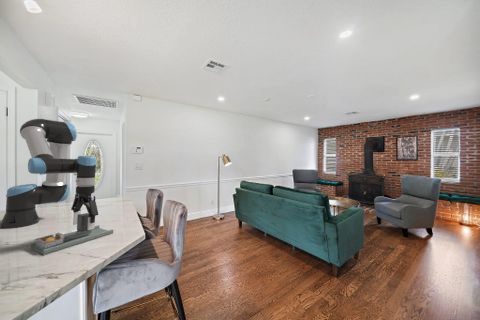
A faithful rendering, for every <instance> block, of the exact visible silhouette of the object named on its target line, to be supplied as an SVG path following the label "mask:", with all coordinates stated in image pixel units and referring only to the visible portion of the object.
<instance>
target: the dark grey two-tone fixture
mask: <svg viewBox="0 0 480 320" xmlns="http://www.w3.org/2000/svg"><path fill="white" fill-rule="evenodd" d="M88 216H89V214H88V212H86V213H80V214H79V215H78V217H77V224H76V230H75V231H70V232H68V233H64V234H63V233H61V232H55V234H54V237H55V238H56V240H58V239H63V243H64V241H66V240H69V239H73V238H76V237H80V236H83V235H87V234H90V233H91V230H88Z"/></svg>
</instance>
